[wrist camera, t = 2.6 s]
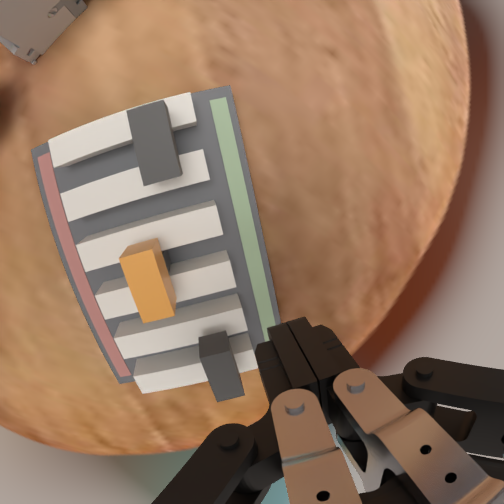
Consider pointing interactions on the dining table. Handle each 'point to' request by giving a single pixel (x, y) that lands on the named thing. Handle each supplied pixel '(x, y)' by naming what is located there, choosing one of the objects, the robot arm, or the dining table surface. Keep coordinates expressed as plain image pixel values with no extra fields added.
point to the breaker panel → (164, 238)
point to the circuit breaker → (35, 24)
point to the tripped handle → (149, 279)
